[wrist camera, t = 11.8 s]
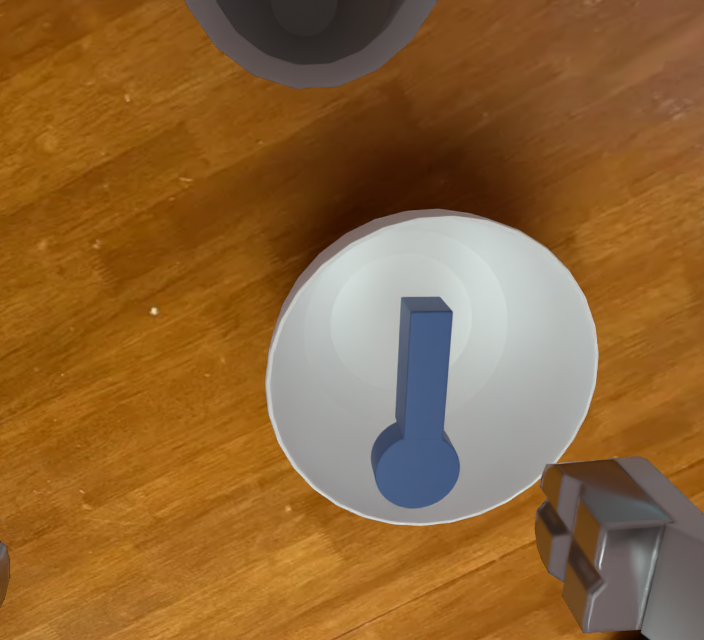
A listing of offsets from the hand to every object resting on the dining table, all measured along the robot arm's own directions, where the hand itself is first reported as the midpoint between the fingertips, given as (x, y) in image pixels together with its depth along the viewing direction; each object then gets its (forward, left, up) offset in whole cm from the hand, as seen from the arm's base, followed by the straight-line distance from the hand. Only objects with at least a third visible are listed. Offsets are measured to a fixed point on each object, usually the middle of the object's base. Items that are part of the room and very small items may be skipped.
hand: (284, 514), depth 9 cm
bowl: (+6, +7, -27) cm, 28 cm away
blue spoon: (+7, +6, -17) cm, 19 cm away
